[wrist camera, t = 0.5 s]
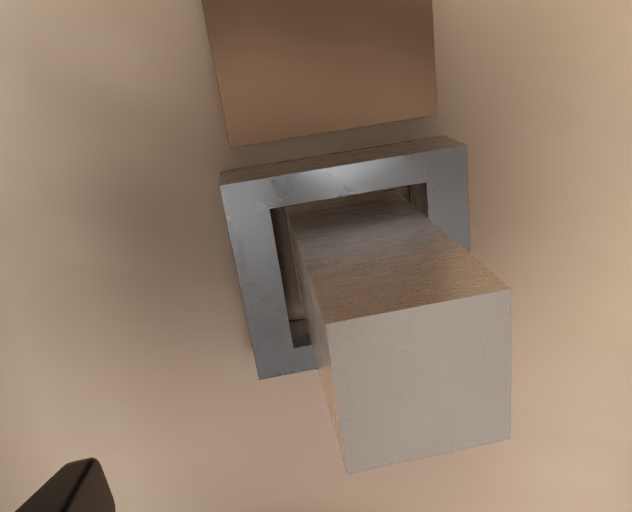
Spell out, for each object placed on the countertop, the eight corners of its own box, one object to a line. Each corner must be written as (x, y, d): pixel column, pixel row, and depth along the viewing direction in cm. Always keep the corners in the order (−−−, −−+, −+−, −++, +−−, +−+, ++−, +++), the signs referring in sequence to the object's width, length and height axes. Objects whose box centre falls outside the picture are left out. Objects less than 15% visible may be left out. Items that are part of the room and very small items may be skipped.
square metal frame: (452, 313, 22) (472, 337, 20) (256, 351, 21) (259, 380, 19) (444, 135, 19) (466, 144, 17) (220, 172, 19) (219, 185, 17)
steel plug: (401, 286, 21) (510, 438, 13) (300, 305, 21) (347, 474, 13) (393, 187, 20) (510, 288, 11) (285, 206, 19) (325, 324, 11)
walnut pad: (429, 112, 19) (437, 114, 18) (230, 143, 18) (230, 147, 18) (416, -125, 16) (425, -133, 16) (184, -97, 16) (181, -104, 15)
